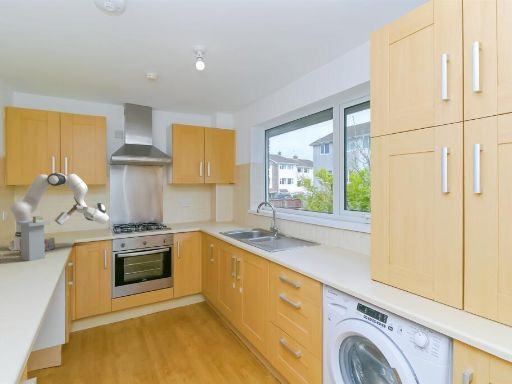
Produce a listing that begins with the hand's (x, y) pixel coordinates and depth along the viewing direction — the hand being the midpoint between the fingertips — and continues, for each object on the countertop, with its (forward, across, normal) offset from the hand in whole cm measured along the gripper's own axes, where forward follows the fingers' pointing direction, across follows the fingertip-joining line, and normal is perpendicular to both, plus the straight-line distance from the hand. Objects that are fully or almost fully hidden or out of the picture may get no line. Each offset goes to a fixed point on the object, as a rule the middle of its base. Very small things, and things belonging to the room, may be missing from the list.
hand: (75, 205), depth 222 cm
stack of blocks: (-3, -20, +40) cm, 44 cm away
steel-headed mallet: (0, 0, +8) cm, 8 cm away
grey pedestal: (+7, 0, +45) cm, 45 cm away
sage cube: (+20, +6, +22) cm, 30 cm away
